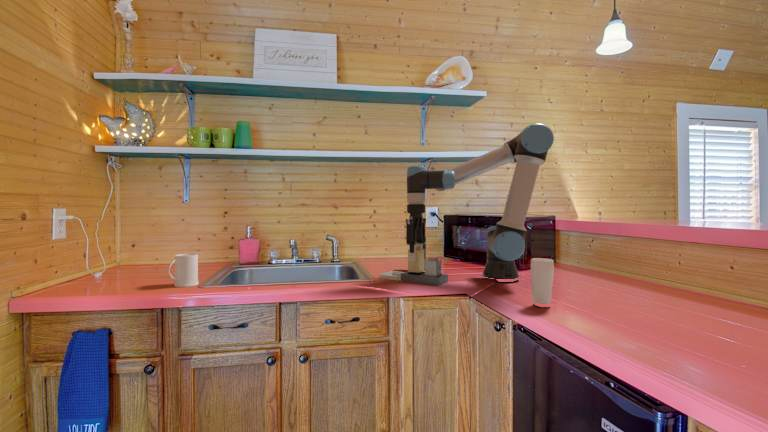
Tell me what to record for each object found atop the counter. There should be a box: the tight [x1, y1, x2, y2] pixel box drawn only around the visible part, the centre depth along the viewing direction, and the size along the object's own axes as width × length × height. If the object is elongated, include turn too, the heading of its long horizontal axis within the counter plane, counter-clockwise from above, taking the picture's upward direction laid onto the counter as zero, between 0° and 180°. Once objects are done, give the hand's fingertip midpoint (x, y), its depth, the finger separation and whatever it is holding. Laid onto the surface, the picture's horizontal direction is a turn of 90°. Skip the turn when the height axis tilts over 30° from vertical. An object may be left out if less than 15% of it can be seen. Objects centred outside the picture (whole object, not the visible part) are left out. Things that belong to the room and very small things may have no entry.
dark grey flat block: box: [400, 271, 449, 287], centre depth 151 cm, size 17×9×4 cm, turn 57°
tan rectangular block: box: [407, 247, 424, 273], centre depth 153 cm, size 5×5×10 cm
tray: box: [378, 270, 405, 281], centre depth 160 cm, size 9×11×2 cm
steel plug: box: [425, 257, 443, 277], centre depth 149 cm, size 5×5×10 cm
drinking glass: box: [530, 257, 555, 304], centre depth 117 cm, size 7×7×15 cm
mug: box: [167, 253, 200, 288], centre depth 144 cm, size 12×8×12 cm
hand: (416, 259), depth 153 cm, fingers closed on tan rectangular block, 5 cm apart
